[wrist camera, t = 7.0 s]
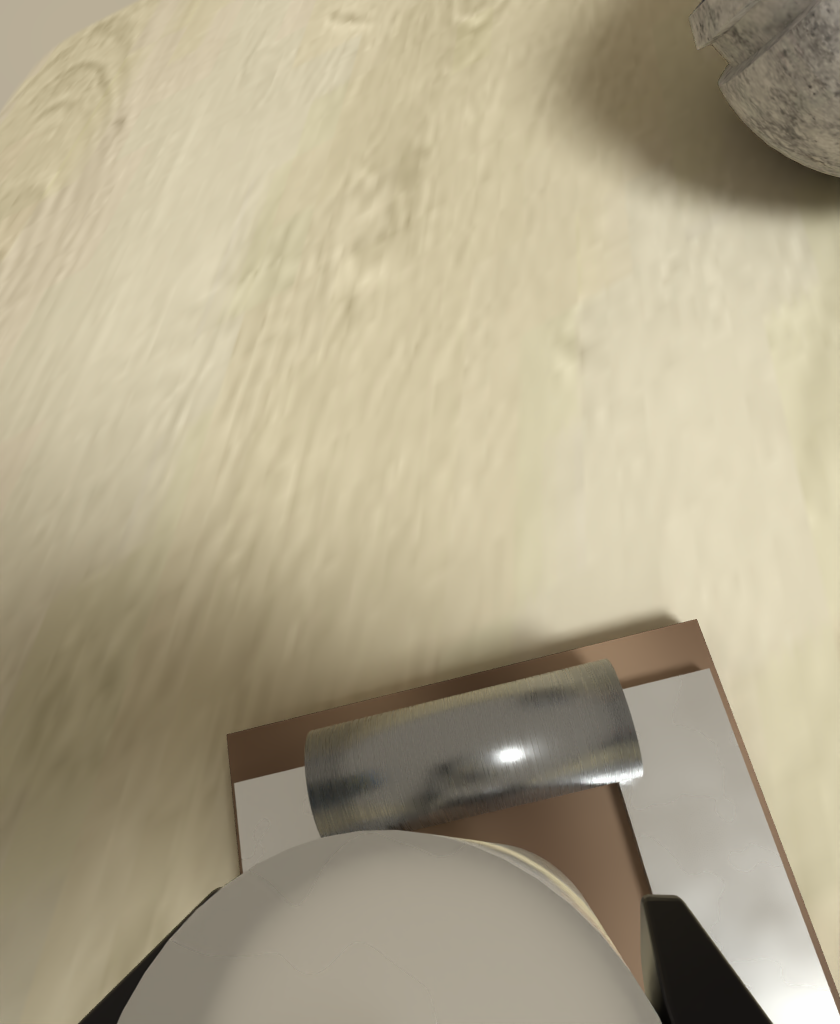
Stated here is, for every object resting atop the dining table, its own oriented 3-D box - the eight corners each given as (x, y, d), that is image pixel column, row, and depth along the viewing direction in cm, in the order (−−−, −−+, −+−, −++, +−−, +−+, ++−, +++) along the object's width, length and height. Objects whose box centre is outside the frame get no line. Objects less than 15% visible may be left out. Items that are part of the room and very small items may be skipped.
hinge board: (305, 1350, 18) (290, 1382, 17) (241, 739, 24) (226, 734, 23) (912, 1229, 17) (936, 1255, 16) (689, 630, 23) (697, 619, 22)
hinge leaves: (298, 1330, 17) (250, 1421, 14) (239, 759, 22) (195, 747, 20) (904, 1209, 16) (974, 1281, 14) (696, 648, 22) (716, 619, 19)
